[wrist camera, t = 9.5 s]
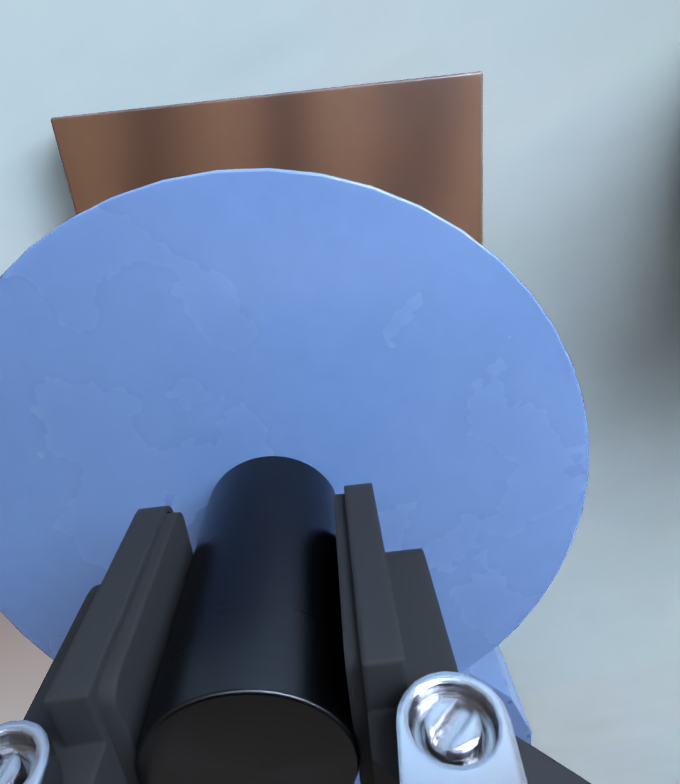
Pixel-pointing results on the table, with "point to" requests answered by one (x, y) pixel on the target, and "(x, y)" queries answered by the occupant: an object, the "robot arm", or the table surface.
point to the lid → (277, 442)
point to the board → (297, 142)
